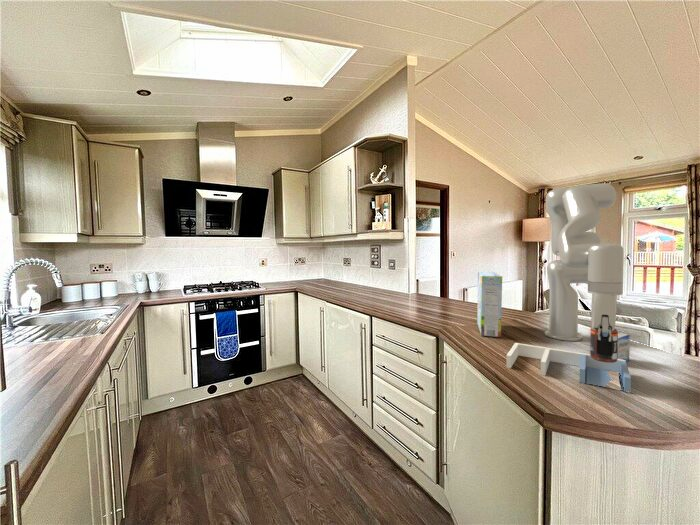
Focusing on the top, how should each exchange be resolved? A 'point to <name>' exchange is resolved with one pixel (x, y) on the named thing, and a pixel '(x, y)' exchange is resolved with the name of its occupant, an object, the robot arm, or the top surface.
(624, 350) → the medicine box
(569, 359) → the organizer
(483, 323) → the snack box
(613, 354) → the supplement bottle
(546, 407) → the top surface
